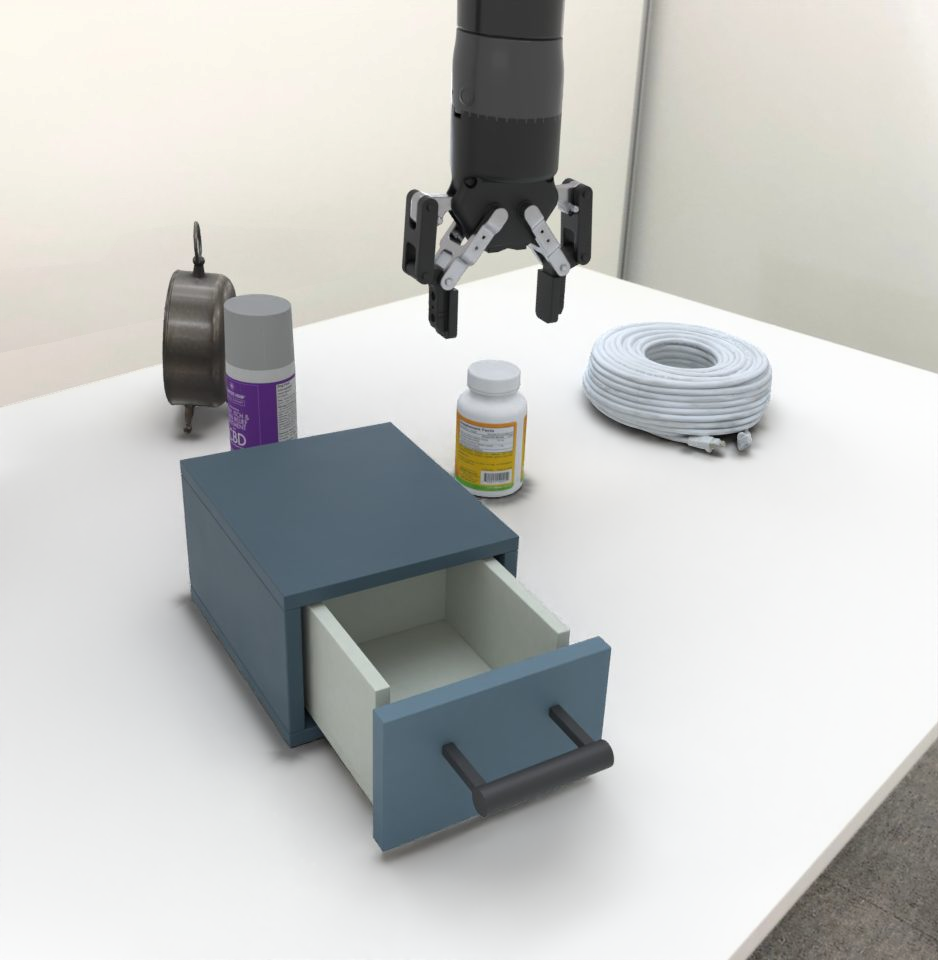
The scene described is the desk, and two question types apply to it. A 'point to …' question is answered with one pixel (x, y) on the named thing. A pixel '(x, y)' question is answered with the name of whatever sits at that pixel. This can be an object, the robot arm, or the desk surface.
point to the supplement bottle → (491, 430)
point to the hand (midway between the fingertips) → (497, 327)
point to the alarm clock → (195, 336)
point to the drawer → (453, 696)
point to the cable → (679, 382)
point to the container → (260, 370)
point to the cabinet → (318, 542)
